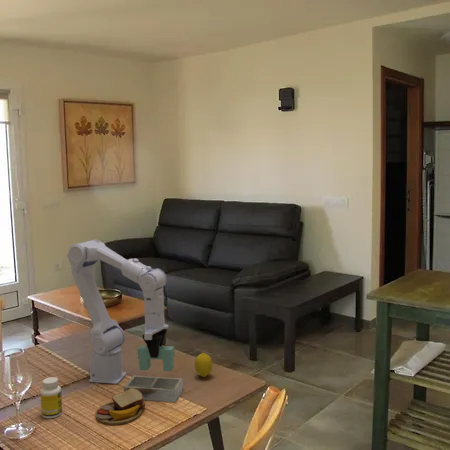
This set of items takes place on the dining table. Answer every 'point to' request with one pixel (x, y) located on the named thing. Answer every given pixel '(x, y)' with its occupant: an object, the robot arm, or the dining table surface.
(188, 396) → the dining table surface
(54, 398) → the supplement bottle
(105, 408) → the toy sandwich meal
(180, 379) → the cabinet frame
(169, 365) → the clip
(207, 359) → the lemon
